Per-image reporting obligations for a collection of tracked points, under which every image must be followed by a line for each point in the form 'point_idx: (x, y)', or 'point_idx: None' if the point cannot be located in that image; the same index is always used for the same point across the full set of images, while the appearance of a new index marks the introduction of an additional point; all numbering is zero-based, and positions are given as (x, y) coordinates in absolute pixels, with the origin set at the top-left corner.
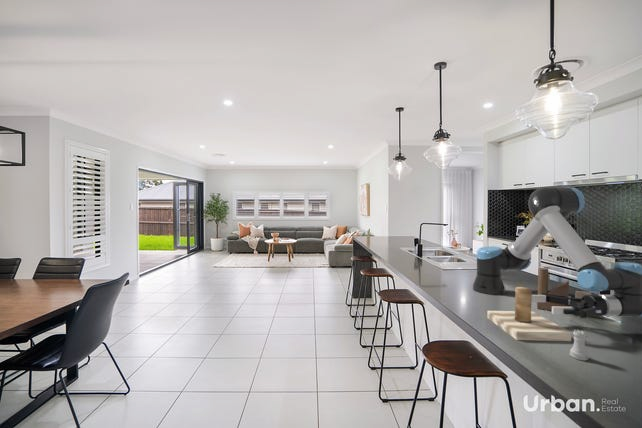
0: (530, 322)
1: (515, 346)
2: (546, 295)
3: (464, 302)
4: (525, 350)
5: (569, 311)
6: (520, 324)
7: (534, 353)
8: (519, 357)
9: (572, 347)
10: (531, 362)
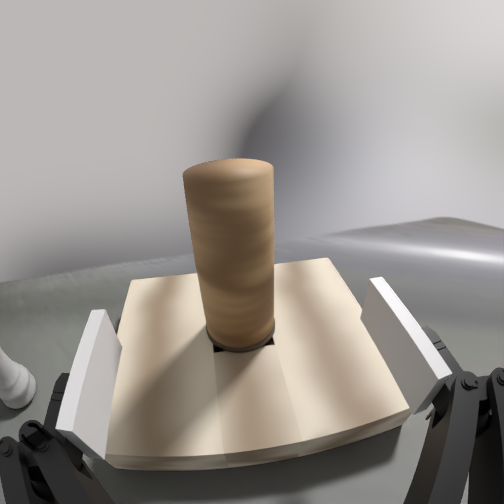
0: (213, 343)
1: (105, 289)
2: (457, 387)
3: (446, 255)
4: (83, 299)
5: (56, 399)
6: (189, 306)
7: (66, 309)
8: (64, 280)
9: (16, 364)
10: (44, 289)
